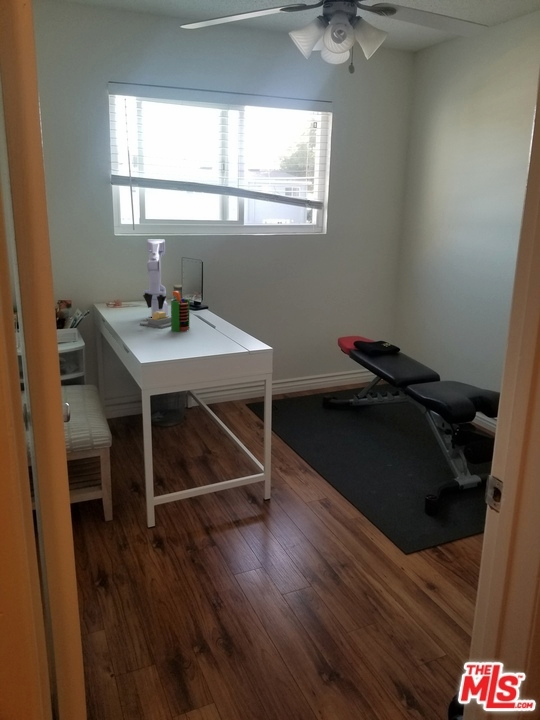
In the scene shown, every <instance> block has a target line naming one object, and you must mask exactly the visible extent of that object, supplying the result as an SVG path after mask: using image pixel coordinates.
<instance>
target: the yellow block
mask: <svg viewBox="0 0 540 720" xmlns="http://www.w3.org/2000/svg"><path fill="white" fill-rule="evenodd" d="M166 317H169V316H166V312H161V311H160V312H159V311H156V312H155V313H153V318H151V317H150V318H151V319H154V320H161V319H165V318H166Z"/></svg>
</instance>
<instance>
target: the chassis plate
mask: <svg viewBox="0 0 540 720" xmlns="http://www.w3.org/2000/svg"><path fill="white" fill-rule="evenodd" d="M139 325H140V326H143V325H144V326H145V327H149V326H151V328H156V327H157V329H166V328H169V327H170V328H171V316H168V317H166V318H165V319H161V320H154V319H151V317H148V318H147V321H143V322H141V323H139ZM165 327H166V328H165Z"/></svg>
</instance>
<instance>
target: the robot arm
mask: <svg viewBox="0 0 540 720" xmlns="http://www.w3.org/2000/svg"><path fill="white" fill-rule="evenodd" d="M146 248H147V253H148V261H146V270H147V275H148V289H143V290H142V296H143V298H144V299H145V302H146V305H147V309H149V308H150V310H151V315H149V316H148V318H151V317H152V318H153V313H155V312H156V311H159V312H160V311H161V312H166V316H168V317H170V315H169V305H168V303H167V301H166V300H167V289H166V287H165V286H164V285H162V257H163V256H165V254H166V240H165V239H164V238H163V239H155V238H154V239H153V238H148V239H147V240H146Z"/></svg>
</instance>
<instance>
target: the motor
mask: <svg viewBox="0 0 540 720" xmlns="http://www.w3.org/2000/svg"><path fill="white" fill-rule="evenodd" d="M172 296H176V297H175V298H172V299H171V300H170V317H171V326H170V328H171V329H170V330H171V331H173V332H175V333H179V332H180V331H182V332H187V330H188V331H189V329H190V299H189V298H181V293H180V291H179V290H174V291H172Z"/></svg>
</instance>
